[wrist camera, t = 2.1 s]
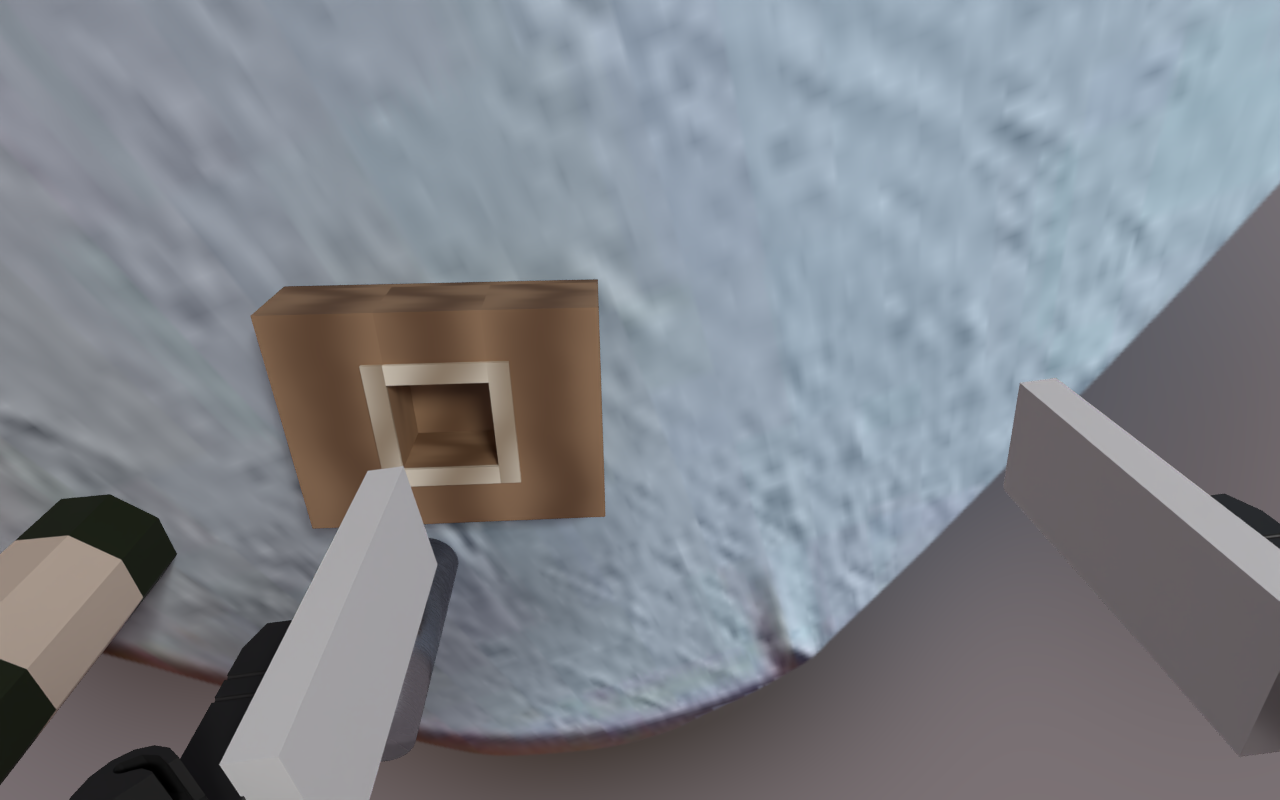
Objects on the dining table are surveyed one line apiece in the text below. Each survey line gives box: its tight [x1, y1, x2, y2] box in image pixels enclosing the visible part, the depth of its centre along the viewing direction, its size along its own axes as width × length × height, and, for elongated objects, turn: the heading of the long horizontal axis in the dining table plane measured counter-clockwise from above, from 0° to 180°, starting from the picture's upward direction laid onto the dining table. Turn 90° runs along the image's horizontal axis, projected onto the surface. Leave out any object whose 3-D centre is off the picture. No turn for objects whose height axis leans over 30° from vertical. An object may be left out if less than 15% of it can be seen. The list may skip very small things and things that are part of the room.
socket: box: [251, 279, 605, 528], centre depth 42 cm, size 18×14×5 cm
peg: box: [381, 538, 458, 761], centre depth 44 cm, size 4×4×14 cm
